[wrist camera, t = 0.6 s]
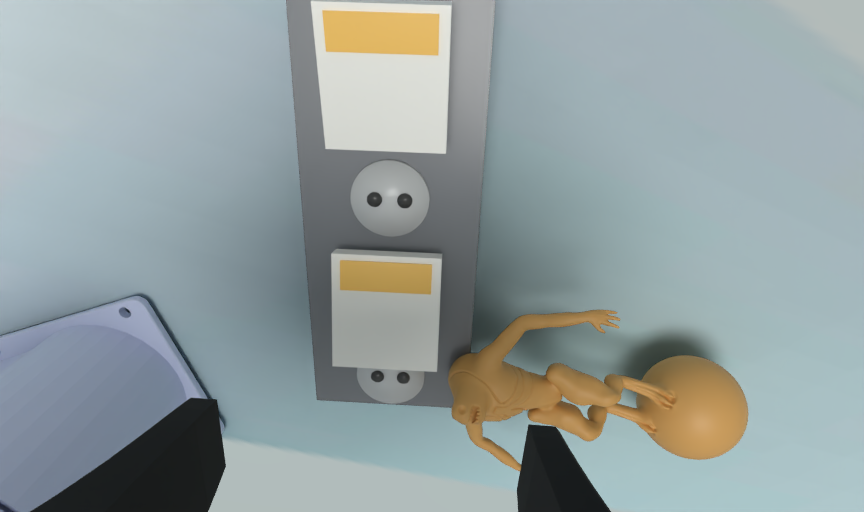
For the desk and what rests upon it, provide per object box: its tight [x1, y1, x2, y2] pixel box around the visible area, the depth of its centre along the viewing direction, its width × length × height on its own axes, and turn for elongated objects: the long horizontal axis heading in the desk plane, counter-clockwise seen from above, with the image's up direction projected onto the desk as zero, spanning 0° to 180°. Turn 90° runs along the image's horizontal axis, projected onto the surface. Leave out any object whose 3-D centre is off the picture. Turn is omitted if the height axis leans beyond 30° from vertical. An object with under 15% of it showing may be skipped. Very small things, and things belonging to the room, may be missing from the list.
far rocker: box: [331, 249, 442, 372], centre depth 18 cm, size 4×4×1 cm
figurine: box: [448, 310, 748, 471], centre depth 20 cm, size 8×6×12 cm
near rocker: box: [311, 0, 452, 154], centre depth 15 cm, size 4×4×1 cm
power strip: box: [286, 0, 495, 408], centre depth 19 cm, size 15×6×3 cm, turn 178°
